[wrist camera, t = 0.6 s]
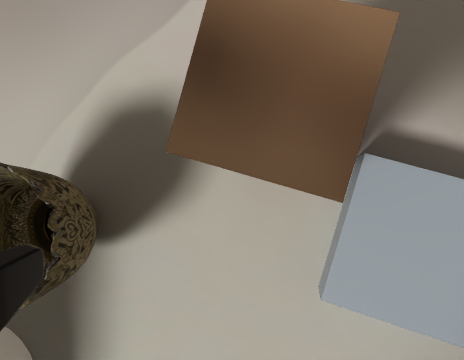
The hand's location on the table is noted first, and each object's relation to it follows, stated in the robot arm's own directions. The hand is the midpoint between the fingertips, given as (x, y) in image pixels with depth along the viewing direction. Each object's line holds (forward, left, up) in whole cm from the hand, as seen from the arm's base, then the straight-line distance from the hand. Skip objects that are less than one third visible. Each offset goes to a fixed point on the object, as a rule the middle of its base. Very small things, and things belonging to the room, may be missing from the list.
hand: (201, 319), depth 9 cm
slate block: (+2, -8, -15) cm, 17 cm away
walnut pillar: (+6, 0, -14) cm, 16 cm away
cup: (-3, +12, -14) cm, 19 cm away
